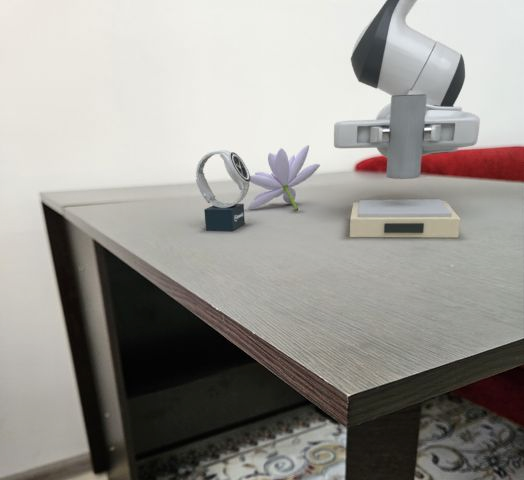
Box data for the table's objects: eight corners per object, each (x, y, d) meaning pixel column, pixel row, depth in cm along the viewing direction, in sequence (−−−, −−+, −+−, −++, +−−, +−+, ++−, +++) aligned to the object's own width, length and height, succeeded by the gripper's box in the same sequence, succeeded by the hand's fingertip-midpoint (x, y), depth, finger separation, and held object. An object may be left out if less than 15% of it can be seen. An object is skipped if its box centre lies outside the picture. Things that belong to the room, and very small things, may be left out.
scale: (444, 218, 80) (446, 198, 79) (458, 238, 68) (461, 214, 66) (352, 218, 83) (353, 198, 82) (349, 237, 70) (350, 215, 69)
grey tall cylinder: (418, 179, 70) (425, 94, 66) (384, 179, 72) (389, 95, 67) (421, 175, 74) (428, 94, 70) (388, 175, 76) (393, 96, 71)
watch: (245, 231, 77) (241, 151, 72) (195, 230, 79) (188, 153, 75) (256, 224, 82) (253, 149, 77) (209, 223, 84) (203, 150, 79)
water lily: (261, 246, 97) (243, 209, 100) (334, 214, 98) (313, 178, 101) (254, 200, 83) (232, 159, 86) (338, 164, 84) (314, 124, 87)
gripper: (335, 111, 83) (329, 112, 70) (471, 106, 79) (490, 105, 67) (334, 153, 85) (328, 161, 73) (466, 150, 82) (483, 158, 69)
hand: (406, 135), depth 70 cm, fingers closed on grey tall cylinder, 4 cm apart
